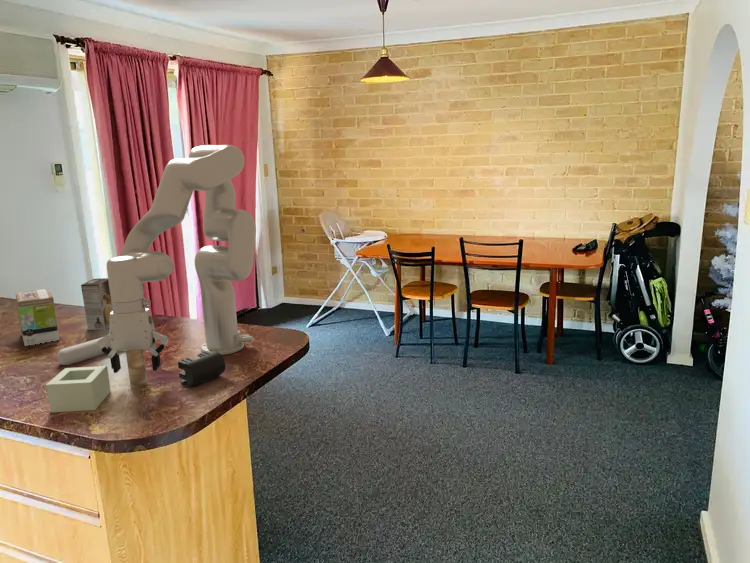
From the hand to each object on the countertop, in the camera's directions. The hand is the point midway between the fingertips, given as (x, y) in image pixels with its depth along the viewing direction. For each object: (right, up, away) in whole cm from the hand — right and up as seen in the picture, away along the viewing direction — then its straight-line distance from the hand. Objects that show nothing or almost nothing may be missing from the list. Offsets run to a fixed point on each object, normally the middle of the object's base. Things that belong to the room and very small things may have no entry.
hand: (136, 369), depth 143 cm
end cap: (+16, -4, +3) cm, 17 cm away
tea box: (-49, +4, +40) cm, 63 cm away
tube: (-21, +1, +25) cm, 33 cm away
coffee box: (-34, +7, +51) cm, 61 cm away
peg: (0, -4, +1) cm, 4 cm away
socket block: (-10, -7, -8) cm, 14 cm away
